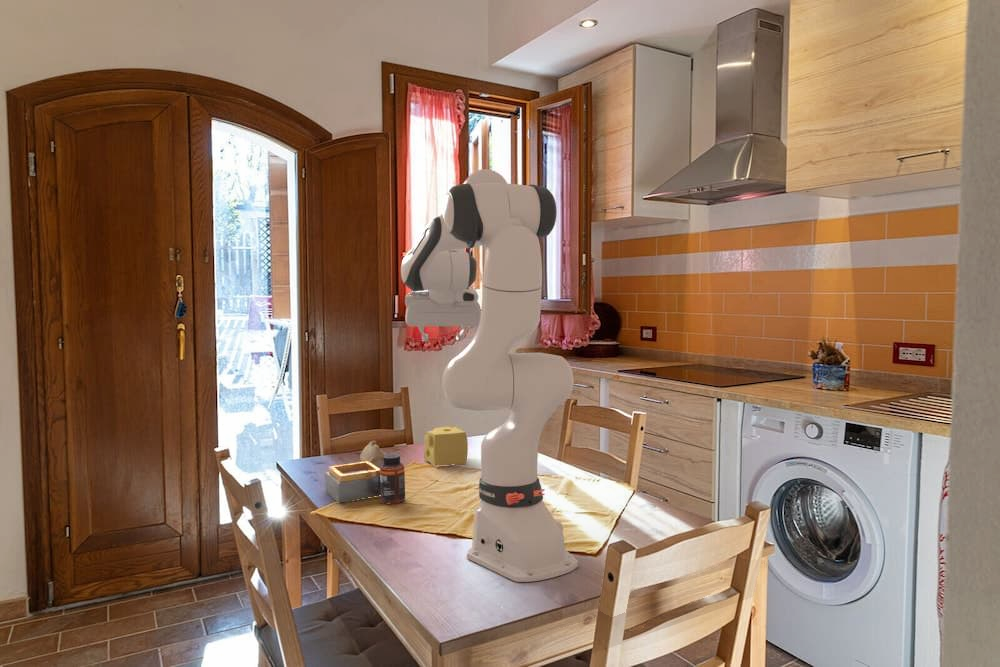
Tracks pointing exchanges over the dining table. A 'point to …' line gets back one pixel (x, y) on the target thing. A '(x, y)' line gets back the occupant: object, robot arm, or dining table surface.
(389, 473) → the supplement bottle
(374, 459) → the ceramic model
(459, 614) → the dining table surface
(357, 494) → the grey wooden-rimmed box
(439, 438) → the cheese
